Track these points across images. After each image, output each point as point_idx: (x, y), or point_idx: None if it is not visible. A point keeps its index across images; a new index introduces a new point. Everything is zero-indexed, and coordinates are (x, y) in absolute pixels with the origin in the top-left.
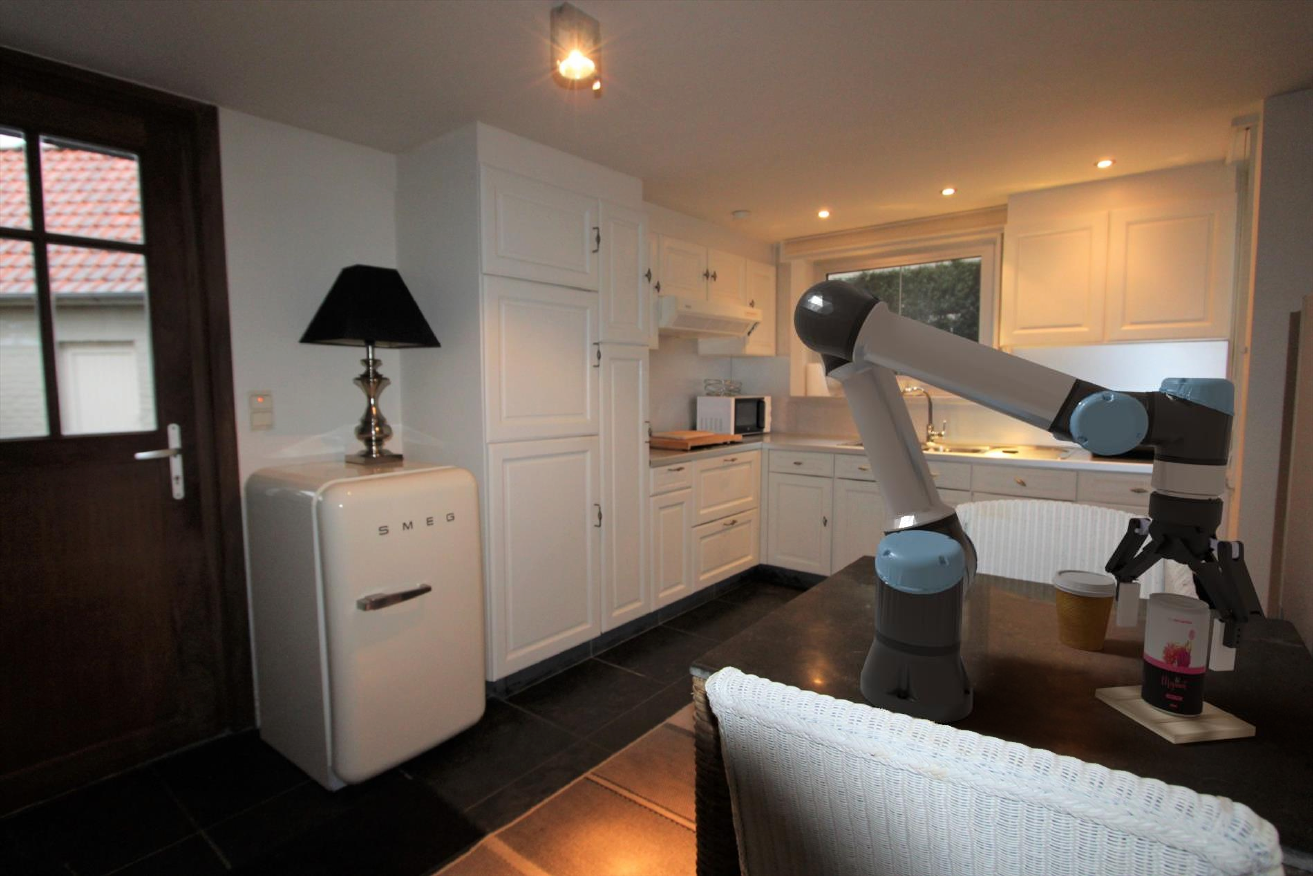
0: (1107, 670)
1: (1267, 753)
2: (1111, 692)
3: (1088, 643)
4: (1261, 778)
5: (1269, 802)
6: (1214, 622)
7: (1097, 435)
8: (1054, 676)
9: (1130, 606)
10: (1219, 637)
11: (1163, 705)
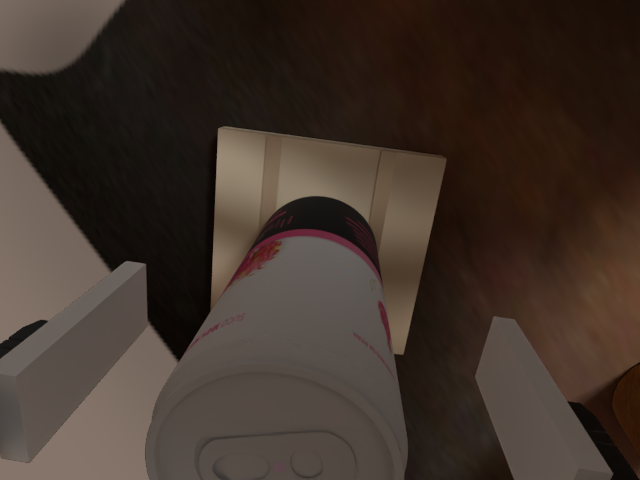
0: (528, 317)
1: (163, 273)
2: (417, 182)
3: (637, 385)
4: (95, 169)
5: (27, 95)
6: (27, 364)
7: None
8: (570, 154)
9: (511, 408)
10: (47, 326)
11: (293, 202)
